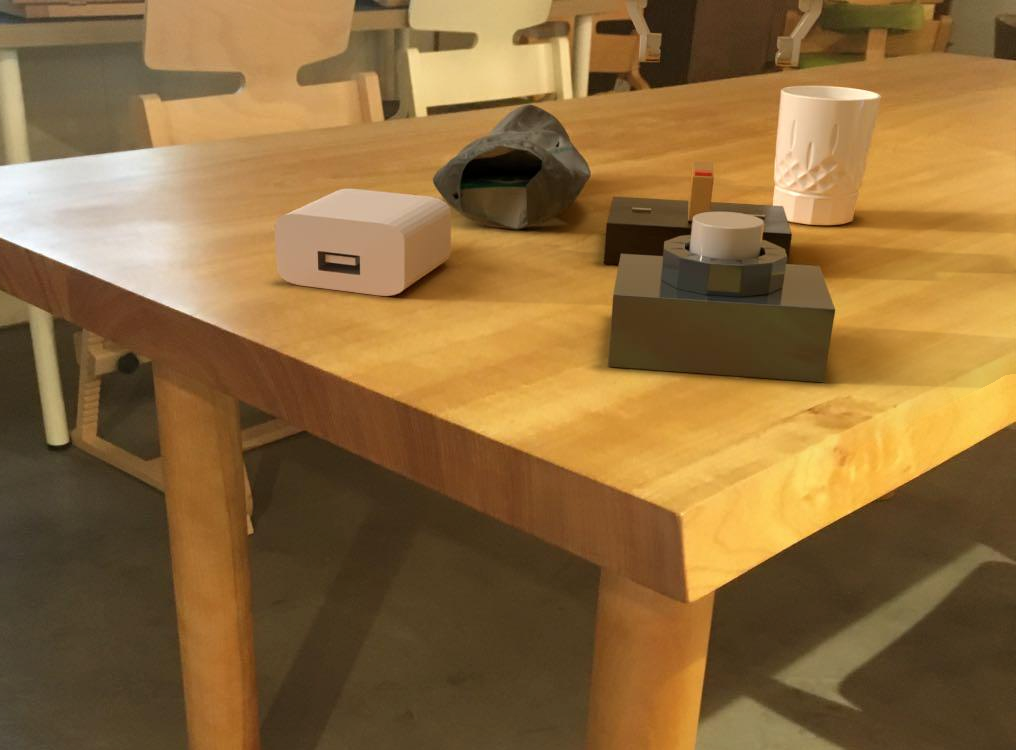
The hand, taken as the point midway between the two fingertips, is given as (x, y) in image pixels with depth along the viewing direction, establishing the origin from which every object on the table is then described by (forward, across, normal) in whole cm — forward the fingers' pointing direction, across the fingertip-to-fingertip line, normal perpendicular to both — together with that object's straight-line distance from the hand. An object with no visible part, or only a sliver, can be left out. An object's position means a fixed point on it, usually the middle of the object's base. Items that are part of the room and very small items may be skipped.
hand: (717, 63), depth 87 cm
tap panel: (+14, 0, 0) cm, 14 cm away
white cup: (+14, -10, -15) cm, 23 cm away
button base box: (+14, 0, +22) cm, 26 cm away
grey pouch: (+13, +15, -15) cm, 25 cm away
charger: (+13, +22, +8) cm, 27 cm away
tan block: (+10, 0, 0) cm, 10 cm away
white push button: (+8, -1, +22) cm, 23 cm away
